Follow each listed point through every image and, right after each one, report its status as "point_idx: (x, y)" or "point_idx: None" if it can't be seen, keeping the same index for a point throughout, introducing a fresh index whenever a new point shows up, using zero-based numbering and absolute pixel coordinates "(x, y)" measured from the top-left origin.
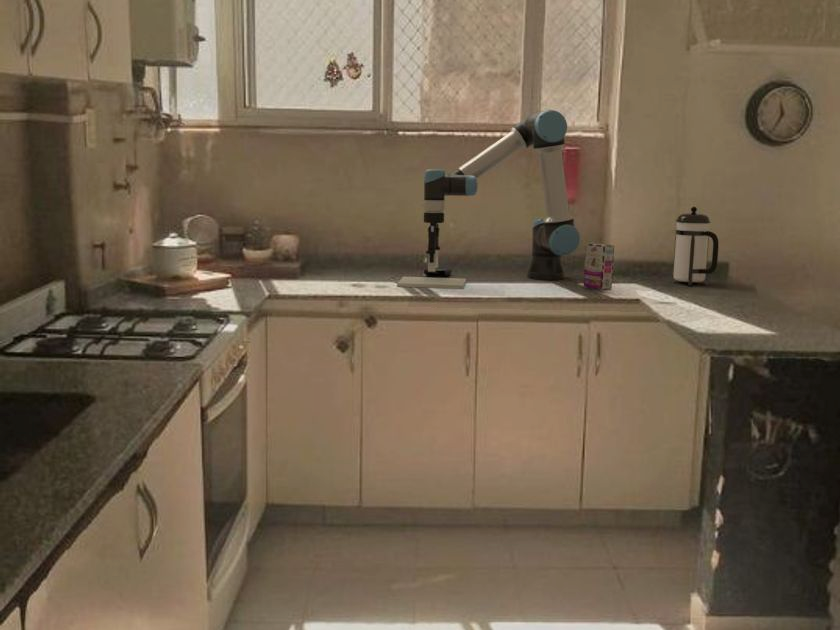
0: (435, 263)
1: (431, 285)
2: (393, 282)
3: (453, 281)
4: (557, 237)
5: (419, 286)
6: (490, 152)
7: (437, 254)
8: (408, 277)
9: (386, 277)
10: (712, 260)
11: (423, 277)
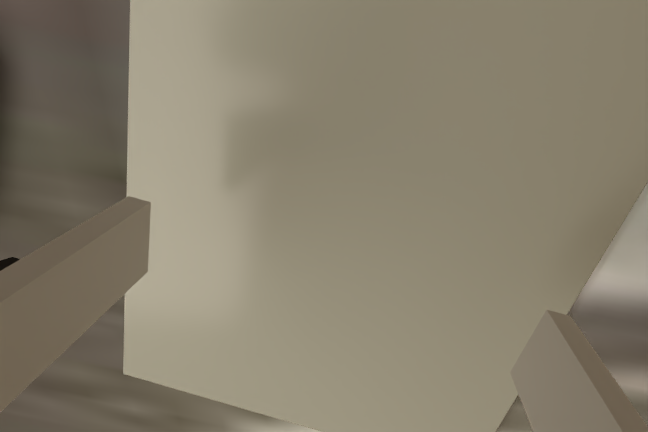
0: (606, 388)
1: (577, 285)
2: (264, 427)
3: (385, 39)
4: None
5: None
6: None
7: (22, 299)
8: (157, 353)
9: (51, 412)
10: None
11: None
